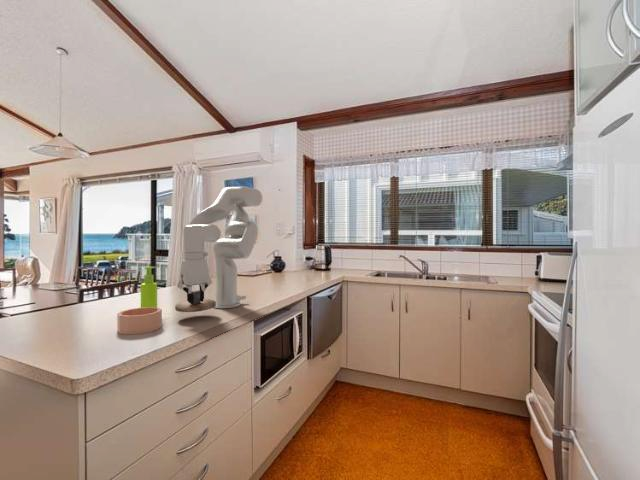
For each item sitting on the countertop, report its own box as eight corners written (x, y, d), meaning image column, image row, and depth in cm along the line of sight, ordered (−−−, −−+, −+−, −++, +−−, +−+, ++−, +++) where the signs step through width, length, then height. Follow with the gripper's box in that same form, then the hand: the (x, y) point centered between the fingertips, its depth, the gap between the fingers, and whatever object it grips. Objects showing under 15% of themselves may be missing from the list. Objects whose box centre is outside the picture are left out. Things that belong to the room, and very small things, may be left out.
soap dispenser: (161, 313, 130) (161, 266, 130) (151, 317, 123) (151, 267, 123) (148, 312, 130) (148, 265, 130) (137, 317, 123) (137, 267, 123)
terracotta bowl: (154, 321, 117) (154, 305, 117) (166, 328, 108) (166, 311, 108) (114, 328, 108) (114, 311, 108) (123, 337, 99) (123, 318, 99)
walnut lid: (208, 300, 133) (207, 286, 133) (221, 307, 121) (221, 291, 121) (170, 306, 124) (170, 291, 123) (181, 314, 112) (180, 297, 112)
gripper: (210, 254, 130) (211, 296, 131) (169, 257, 118) (170, 304, 119) (218, 255, 124) (219, 299, 125) (176, 258, 113) (177, 307, 114)
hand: (195, 301), depth 122 cm, fingers closed on walnut lid, 3 cm apart
